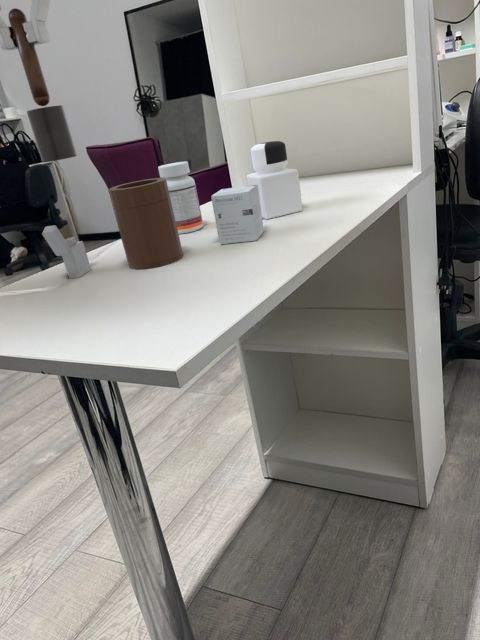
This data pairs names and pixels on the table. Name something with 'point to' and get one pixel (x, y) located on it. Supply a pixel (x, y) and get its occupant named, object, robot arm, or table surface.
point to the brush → (41, 100)
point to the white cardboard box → (238, 214)
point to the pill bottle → (182, 196)
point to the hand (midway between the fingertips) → (26, 46)
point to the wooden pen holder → (146, 223)
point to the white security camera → (275, 180)
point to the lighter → (68, 251)
